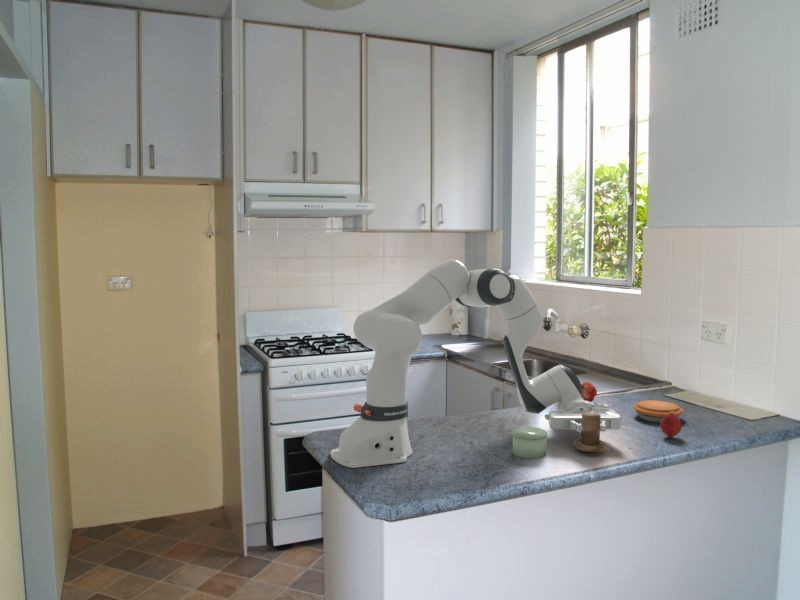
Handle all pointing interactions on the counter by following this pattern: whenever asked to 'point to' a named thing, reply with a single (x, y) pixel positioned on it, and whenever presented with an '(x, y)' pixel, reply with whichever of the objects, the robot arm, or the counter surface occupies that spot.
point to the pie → (656, 410)
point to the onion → (671, 425)
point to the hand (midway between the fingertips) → (591, 428)
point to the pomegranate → (588, 391)
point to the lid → (590, 434)
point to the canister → (529, 442)
